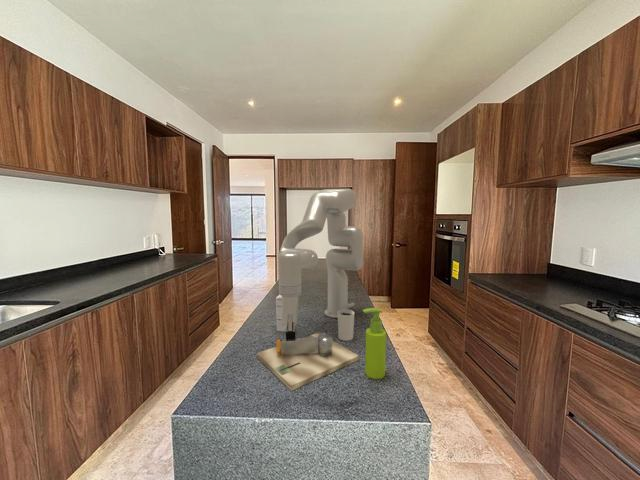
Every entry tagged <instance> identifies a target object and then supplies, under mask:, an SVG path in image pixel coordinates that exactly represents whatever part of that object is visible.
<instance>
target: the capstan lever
mask: <svg viewBox="0 0 640 480" xmlns="http://www.w3.org/2000/svg"><path fill="white" fill-rule="evenodd" d="M321 334H322V335H319V336H318V337H315V338H304V337H300V338H299V337H296V338H294V339H286V338H277V339H276V342H275V343H276V344H275V345H276V346H275V347H277V354H278V355H281V354H296V353H315V352H317V353H318V354H319V355H320V356H330V355H331V354H332V340H333V336H332V335H330V334H327V333H326V332H322V333H321Z"/></svg>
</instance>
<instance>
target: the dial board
mask: <svg viewBox="0 0 640 480" xmlns="http://www.w3.org/2000/svg"><path fill="white" fill-rule="evenodd" d="M319 335H322V333H321V332H317V333H313V334H311V335H310V334H309V335H307V336H304V337H303V338H315V337H318V336H319ZM256 358H257V359H258V360H259V361H260V362H261V363H262V364H263V365H264V366H265V367H266V368H267V369H268V370H270V372H271V373H272V374H274V375H275V376H276V378H278V380H280V381H281V382H282V384H284V385H285V386H286V387H287V388H288V389H289V390H290V391H291V392H293V391H294V390H297V389H298V388H301V387H303V386H306V385H307V384H309V383H311V382H314V381H316V380H319V379H321V378H323V377H324V376H327V375H329V374H332V373H334V372H335V371H337V370H340V369H342V368H344V367H347V366H349V365H352V364H354V363H356V362H358V361H360V355H359V354H357V353H355V352H353V351H351V350H350V349H348V348H347V347H345V346H343V345H341V344H339V343H338V342H336V341H334V340H333V339H332V354H331V355H330V356H320V355H319V354H318V353H317V352H315V353H296V354H281V355H278V354H277V347H276V346H274V347H271V348H268V349H265V350H262V351H259V352H257V353H256Z"/></svg>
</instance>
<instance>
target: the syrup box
mask: <svg viewBox="0 0 640 480" xmlns="http://www.w3.org/2000/svg"><path fill="white" fill-rule="evenodd" d="M275 308H276V309H275V310H276V311H275V315H276V316H275V317H276V331H277V332H282V333H283V332H284V333H286V325H285V326H282V296H281V295H279V294H278V295H277V296H276V297H275Z"/></svg>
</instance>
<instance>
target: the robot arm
mask: <svg viewBox="0 0 640 480" xmlns="http://www.w3.org/2000/svg"><path fill="white" fill-rule="evenodd" d="M356 199H357V198H356V193H355V191H354V190H353V189H351V188H327V189H325V188H324V189H321V190H319V191H317V192H315V193H313V194H312V195H311V196H310V199H309V201H308V204H307V207H306V209H305V212H304V215H303V218H302V221H301V222H300V223H299V224H298V225H296V226H295V227H294V228H293V229H292V230H290V232H288V233H287V235H286V236H284V239H283V241H282V244H281V246H280V249H279V251H278V254H277V255H278V257H277V259H278V260H277V262H278V263H277V265H278V266H277V267H278V269H277V270H278V271H277V272H278V296H279V295H281V296H282V326H285V325H286V332H285V339H294V338H297V337H296V328H295V327H296V326H297V322H298V314H299V313H298V311H299V310H298V309H299V296H301V295H302V272H310V271H312V270H314V269H315V268H316V267H317V265H318V263H319V256H318V254H317V253H316V251H315V250H311V249H307V248H306V249H305V248H296V247H297V245H299V244H300V243H301V242H302V241H304V240H307V239H309V238H311V237H314V236H316V235H318V234H320V233H322V231H323V230H324V227H325V224H326V223H327V239H328V240H327V241H328V243H329V245H331V246H333V247H341V248H330V249H329V250H327V252H326V255H325V262H326V268H327V269H326V270H327V307H326V309H325V310H324V315H325V316H327V317H329V318H331V319H332V318H333V319H338V313H337V312H338V311H339V310H343V309H347V310H350V308H354V307H355V303H354V302H351V303H350V302H348V298H349V297H348V292H349V291H348V290H349V289H348V288H349V287H348V286H349V285H348V283H349V281H348V280H349V278H348V275H347V273H346V272H345V270H347V271H359V270H361V269H362V268H363V264H364V251H363V249H364V245H363V244H364V243H363V242H364V241H363V240H364V239H363V232H362V230H361V229H360V227H359V226H351V225H350V226H349V225H347V223H346V221H347V220H346V213H345V212H347V211H349V210H351V209H352V208H353V207H354V206H355V203H356ZM326 221H327V222H326ZM342 247H343V248H342ZM345 247H346V248H345ZM349 248H350V249H349Z"/></svg>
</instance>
